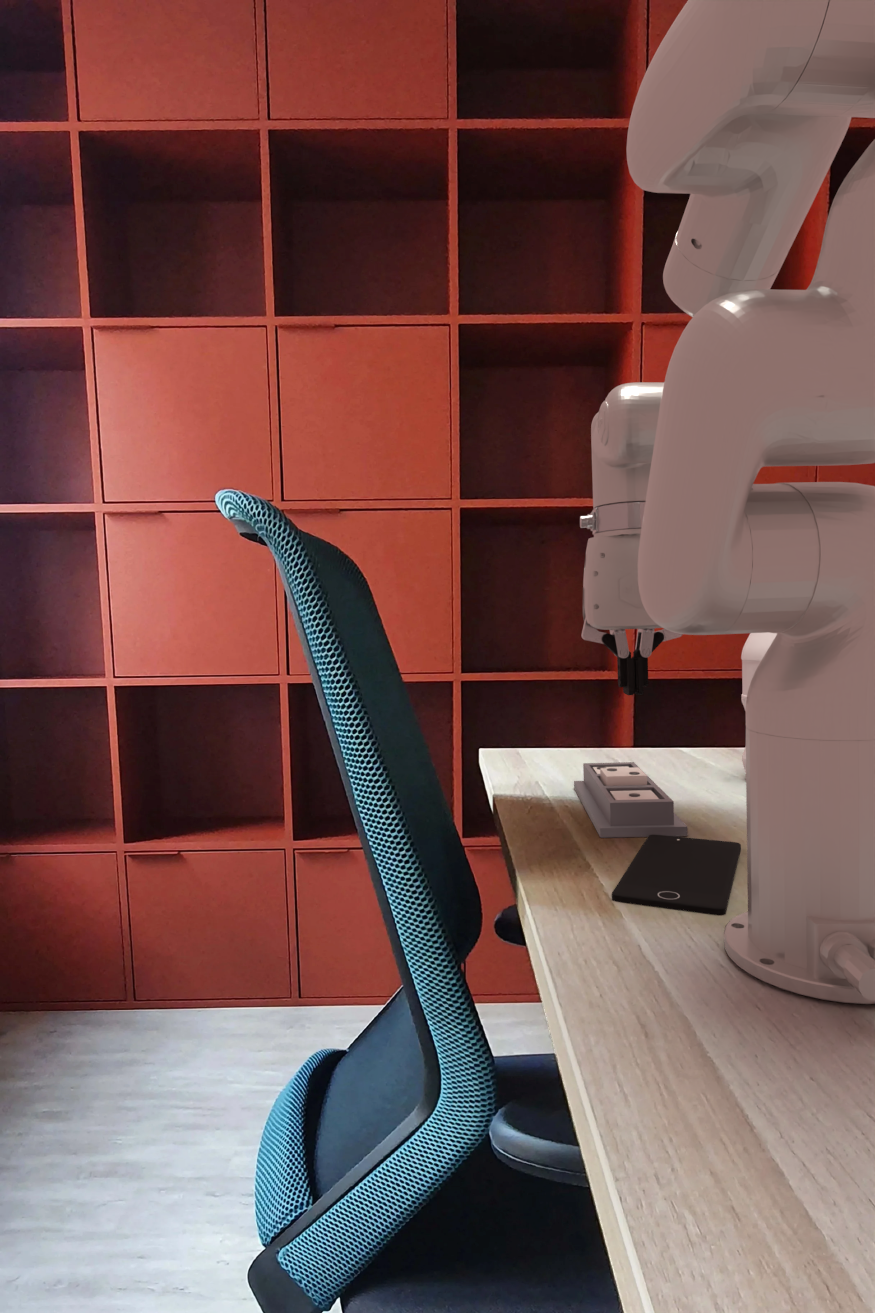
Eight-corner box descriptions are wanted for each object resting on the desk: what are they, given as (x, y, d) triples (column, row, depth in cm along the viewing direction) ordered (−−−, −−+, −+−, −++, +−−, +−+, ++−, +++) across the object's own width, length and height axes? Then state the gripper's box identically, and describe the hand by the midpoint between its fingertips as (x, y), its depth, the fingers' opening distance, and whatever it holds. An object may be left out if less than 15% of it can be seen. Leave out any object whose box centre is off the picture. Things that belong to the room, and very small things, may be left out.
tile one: (660, 818, 81) (660, 799, 81) (617, 819, 82) (617, 800, 82) (651, 807, 86) (650, 789, 86) (610, 808, 86) (609, 790, 86)
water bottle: (789, 774, 105) (788, 593, 104) (809, 786, 98) (808, 592, 97) (735, 775, 106) (733, 595, 104) (751, 787, 99) (749, 594, 97)
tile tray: (687, 836, 79) (687, 802, 79) (600, 837, 80) (599, 804, 79) (642, 786, 101) (641, 760, 101) (574, 788, 102) (573, 762, 101)
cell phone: (610, 905, 63) (610, 894, 63) (649, 842, 79) (649, 833, 79) (724, 921, 59) (724, 909, 59) (741, 851, 75) (741, 842, 75)
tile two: (647, 792, 88) (646, 774, 88) (607, 793, 88) (606, 775, 88) (638, 783, 92) (638, 766, 92) (600, 784, 93) (600, 767, 92)
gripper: (563, 523, 79) (568, 699, 79) (710, 516, 78) (713, 695, 79) (555, 531, 86) (560, 692, 87) (689, 525, 85) (693, 688, 86)
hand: (633, 693), depth 83 cm, fingers closed
